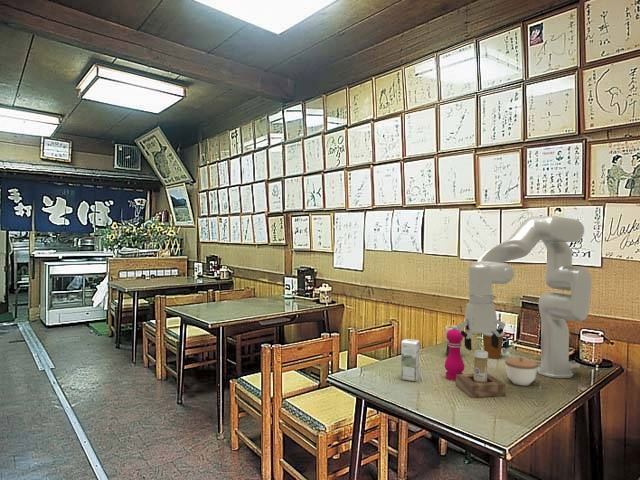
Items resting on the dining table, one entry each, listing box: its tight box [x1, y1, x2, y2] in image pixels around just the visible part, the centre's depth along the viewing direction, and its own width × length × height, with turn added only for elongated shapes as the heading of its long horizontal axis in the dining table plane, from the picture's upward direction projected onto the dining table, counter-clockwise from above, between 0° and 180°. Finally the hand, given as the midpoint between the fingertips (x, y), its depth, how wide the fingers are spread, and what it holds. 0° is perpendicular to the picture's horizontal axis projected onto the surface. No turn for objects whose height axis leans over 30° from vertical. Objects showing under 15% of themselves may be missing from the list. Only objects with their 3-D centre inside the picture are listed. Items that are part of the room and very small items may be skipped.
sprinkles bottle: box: [473, 349, 489, 383], centre depth 153 cm, size 5×5×14 cm
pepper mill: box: [444, 324, 465, 381], centre depth 166 cm, size 7×7×20 cm
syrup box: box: [400, 338, 420, 382], centre depth 165 cm, size 6×6×14 cm
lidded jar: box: [504, 356, 538, 386], centre depth 161 cm, size 11×11×9 cm
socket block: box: [455, 372, 506, 399], centre depth 153 cm, size 12×12×4 cm
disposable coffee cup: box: [481, 331, 505, 360], centre depth 195 cm, size 10×10×12 cm
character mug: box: [444, 325, 462, 356], centre depth 196 cm, size 11×7×13 cm, turn 140°
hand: (481, 348), depth 153 cm, fingers open, 9 cm apart
